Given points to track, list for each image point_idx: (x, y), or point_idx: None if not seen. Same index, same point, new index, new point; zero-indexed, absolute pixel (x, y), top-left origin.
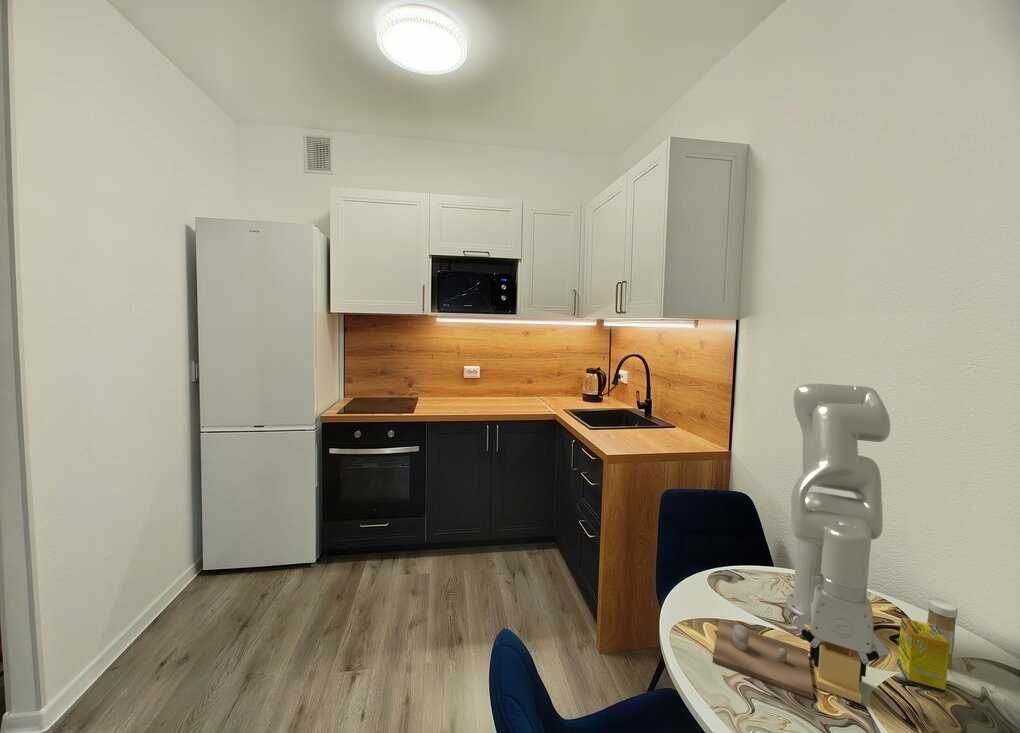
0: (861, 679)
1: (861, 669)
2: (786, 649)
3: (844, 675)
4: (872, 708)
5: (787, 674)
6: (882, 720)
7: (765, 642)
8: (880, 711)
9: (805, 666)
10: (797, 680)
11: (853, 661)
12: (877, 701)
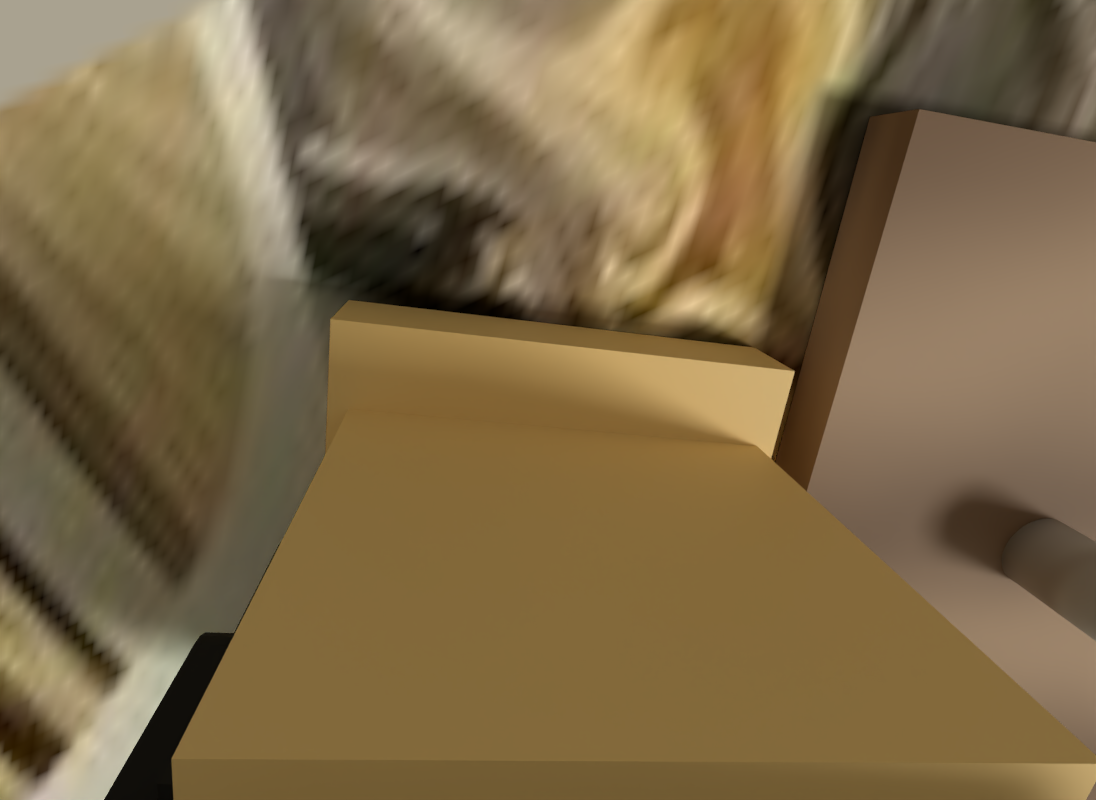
0: (271, 560)
1: None
2: None
3: (517, 492)
4: (236, 280)
5: (1085, 342)
6: (157, 105)
7: (1081, 737)
8: (154, 269)
9: None
10: (1013, 286)
11: (375, 724)
12: (160, 430)
